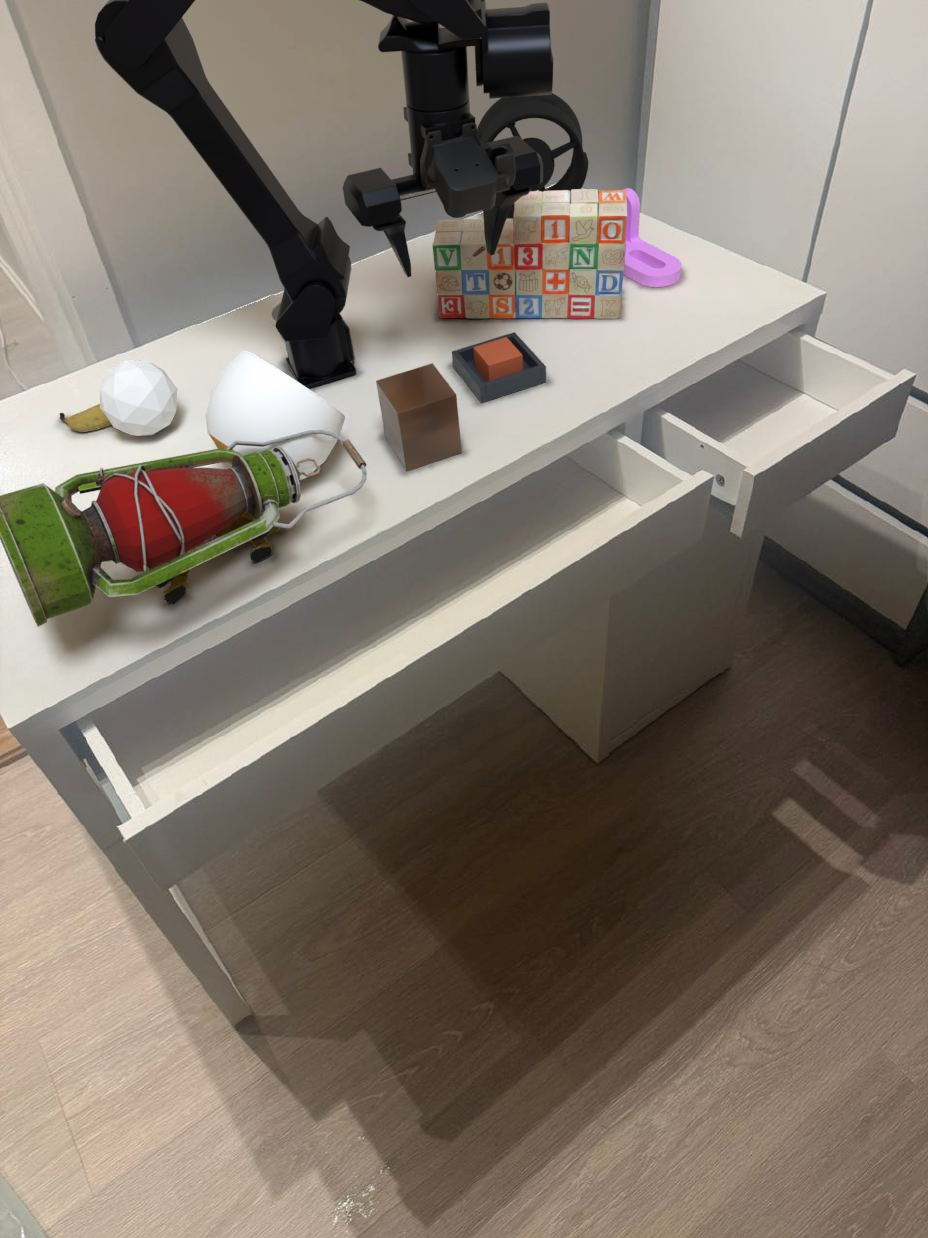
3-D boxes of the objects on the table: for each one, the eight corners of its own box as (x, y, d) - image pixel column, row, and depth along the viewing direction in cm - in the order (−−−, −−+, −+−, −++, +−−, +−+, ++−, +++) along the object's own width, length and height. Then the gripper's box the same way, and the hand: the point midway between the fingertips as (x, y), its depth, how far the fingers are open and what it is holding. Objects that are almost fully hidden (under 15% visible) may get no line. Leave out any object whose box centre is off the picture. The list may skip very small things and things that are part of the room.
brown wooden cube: (406, 471, 91) (397, 413, 86) (385, 438, 95) (375, 380, 89) (461, 452, 92) (456, 394, 87) (439, 420, 96) (432, 362, 91)
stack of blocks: (438, 320, 109) (428, 217, 99) (444, 292, 113) (435, 191, 104) (621, 318, 106) (628, 213, 97) (620, 290, 110) (627, 187, 101)
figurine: (294, 550, 85) (235, 464, 92) (279, 507, 80) (217, 419, 87) (144, 627, 81) (93, 532, 88) (118, 587, 76) (66, 489, 83)
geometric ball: (167, 435, 102) (184, 365, 99) (167, 454, 95) (186, 379, 92) (94, 415, 99) (111, 342, 96) (89, 433, 92) (106, 355, 89)
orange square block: (489, 385, 99) (488, 365, 97) (474, 366, 101) (473, 346, 99) (523, 374, 99) (522, 354, 98) (507, 356, 102) (506, 336, 100)
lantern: (-36, 453, 69) (323, 357, 82) (2, 545, 78) (322, 446, 90) (21, 583, 63) (400, 459, 75) (55, 668, 72) (391, 543, 84)
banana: (155, 416, 99) (154, 400, 102) (147, 396, 98) (146, 380, 101) (63, 442, 98) (65, 425, 101) (53, 423, 97) (55, 406, 100)
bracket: (584, 252, 117) (586, 198, 112) (617, 238, 119) (620, 183, 114) (655, 292, 109) (661, 235, 104) (689, 275, 111) (696, 219, 106)
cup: (159, 420, 84) (214, 329, 83) (225, 455, 96) (274, 375, 95) (261, 488, 81) (319, 393, 80) (317, 514, 92) (367, 432, 92)
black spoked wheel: (462, 220, 119) (460, 183, 126) (566, 248, 123) (559, 211, 129) (497, 107, 109) (493, 73, 115) (610, 142, 112) (599, 107, 119)
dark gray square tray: (481, 403, 97) (480, 387, 96) (452, 366, 102) (451, 351, 101) (546, 382, 99) (546, 366, 98) (515, 347, 104) (514, 331, 102)
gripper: (368, 155, 76) (391, 325, 87) (571, 108, 80) (566, 277, 91) (329, 110, 83) (354, 273, 94) (517, 69, 87) (519, 230, 98)
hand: (449, 264), depth 94 cm, fingers open, 9 cm apart
